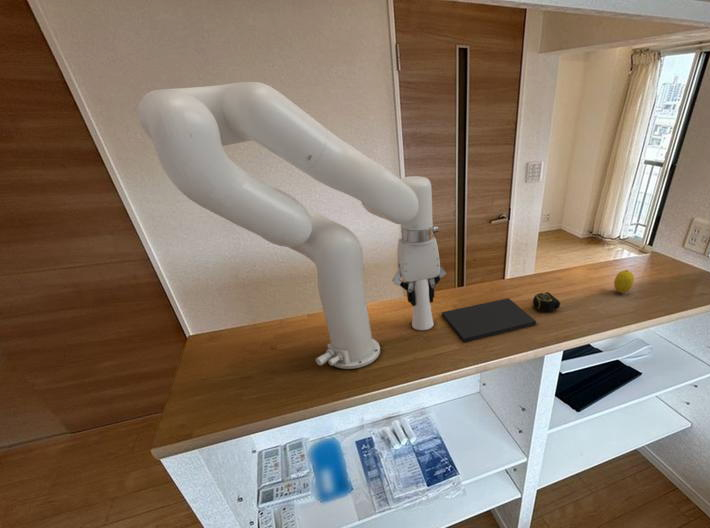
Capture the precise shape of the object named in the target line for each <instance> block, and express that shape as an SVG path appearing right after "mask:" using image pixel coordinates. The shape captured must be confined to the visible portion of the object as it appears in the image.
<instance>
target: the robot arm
mask: <svg viewBox="0 0 710 528" xmlns="http://www.w3.org/2000/svg"><path fill="white" fill-rule="evenodd" d="M137 116H138V121H139V123H140V125H141V128H142V129H143V131H144V133H145V134H146V135H147V136H148V137H149V138H150V140H151V141H152V143H153V147H154V150H155V153H156V156H157V159H158V161H159V163H160V165H161V167H162V169H163V171H164V172H165V174H166V176H167V177H168V178H169V180H170V181H171V182H172V184H173V185H174V186H175V187H176V188H177V189H178V190H179V191H180V192H181V193H182V194H183V195H184V196H185V197H186V198H187V199H189V200H190V201H192V202H193V203H195V204H197V205H198V206H200V207H202V209H203V208H204V209H205V210H207V211H209V212H211V213H213V214H215V215H217V216H219V217H221V218H223V219H225V220H227V221H229V222H231V223H232V224H234V225H237V226H239V227H240V228H243V229H244V230H247V231H249V232H251V233H252V234H255V235H257V236H259V238H262V239H263V240H265V241H266V242H269V243H271V244H273V245H276V246H280V247H285V248H289V249H290V250H293V251H295V252H297V253H299V254H301V255H303V256H304V257H306V258H307V259H309V260H310V261H311V262H313V263H314V264H315V267H316V270H317V289H318V295H319V299H320V303H321V306H322V310H323V315H324V319H325V323H326V328H327V333H328V336H329V337H328V338H329V342H330V343H327V345H326V346H327V350H325V353H324V354H323V353H322V354H321V355H320V356H318V357H316V358H315V363H316V364H317V365H318V366H323V365H324V364H326V363H328V364H329V366H333V367H334V368H338V369H342V370H343V369H344V370H354V369H359V368H363V367H365V366H368V365H370V364H372V363H373V362H375V361H376V360H377V359H378V357H379V356H380V354H381V346H380V343H379V342H378V341H377V340H376V339H374V338H373V337H372V335H373V334H372V329H371V323H370V316H369V311H368V303H367V298H366V291H365V285H364V277H363V276H364V275H363V274H364V273H363V265H364V264H363V261H364V255H363V254H364V252H363V247H362V244H361V242H360V240H359V238H358V236H357V235H356V234H355V233H354V232H353V231H351V229H349V228H348V227H346V226H344V225H342V224H341V223H338V222H337V221H334V220H331V219H330V218H328V217H326V216H324V215H323V214H320V213H319V212H317V211H315V210H313V209H312V208H310V207H308V206H306V205H305V204H303V203H301V202H300V201H299V200H298V199H297V198H295V197H294V196H292V195H291V194H289V193H287V192H285V191H283V190H281V189H279V188H277V187H274V186H271V185H269V184H268V183H267V182H264V181H263V180H261V179H259V178H257V177H255V176H254V175H253V174H251V172H248V171H247V170H245V169H243V168H242V167H240V166H238V165H237V164H236V163H234V161H232V160H231V159H230V158H229V156H228V155H227V153H226V151H225V150H224V146H230V145H235V144H240V143H245V142H255V143H257V144H258V145H260V146H262V147H263V148H264V149H266V150H268V151H270V152H271V153H273V154H274V155H276V156H278V157H279V158H281V159H282V160H284V161H285V162H287V163H289V164H290V165H292V166H293V167H295V168H297V169H298V170H300V171H301V172H303V173H304V174H306V175H308V176H309V177H310V178H312V179H313V180H315V181H317V182H319V183H321V184H322V185H325V186H326V187H329V188H330V189H333V190H335V191H337V192H340V193H343V194H344V195H345V194H346V195H348V196H350V197H352V198H354V199H356V200H358V201H360V203H361V205H362V207H363V208H364V209H365V210H366V212H367V213H370V214H371V215H373V216H376V217H378V218H380V219H383V220H386V221H389V222H390V223H393V224H396V225H400V233H401V234H400V237H401V238H399V239H398V241H397V247H396V249H397V250H396V251H397V252H396V259H397V260H396V262H397V263H396V266H397V270H396V272H395V274H394V276H393V277H392V279H391V280H392V283H393V284H394V285H397V286H399V287H401V288H402V289H404V290H405V291H406V298H407V299H406V300H407V302H408V303H410V305H411V306H412V307H413V306H415V305H416V304H415V292H414V291H413V284H414V281H418V280H422V279H428V284H429V296H430V304H433V303H434V298H435V288H436V286H437V285H438V283H439V282H440V281H441V279H443V278H444V277H445V276H446V275H447V271H446V270H445V269H444V268H443V266H442V265H441V261H440V253H439V247H438V241H437V239H436V237H435V233H438V232H439V226H438V225H436V226H435V225H434V222H433V193H432V183H431V181H430V179H429V178H428V177H426V176H420V175H410V176H404V177H402V178H399V177H398V176H396V175H395V174H394V173H393V172H391V171H390V170H389V169H388V168H386V167H384V166H383V165H382V164H380V163H378V162H377V161H376V160H373V158H371V157H369V156H367V155H365V154H364V153H362V152H361V151H359V150H358V149H357V148H355V147H354V146H352V145H351V144H350V143H347V142H346V141H344V140H343V139H342V138H340V137H339V136H337V134H334V133H333V132H332V131H330V130H329V129H328V128H327V127H325V126H324V125H323V124H322V123H320V122H318V121H317V120H316V119H315V118H314V117H312V116H311V115H309V114H308V112H306V111H304V110H303V108H300V107H299V106H298V105H297V104H295V103H294V102H293V101H292V100H291V99H289V98H288V97H286V96H285V95H283V94H282V93H281V92H280V91H278V90H277V89H276V88H274V87H272V86H270V85H268V84H266V83H263V82H259V81H240V82H234V83H233V82H231V83H226V84H224V83H223V84H216V85H208V86H207V85H205V86H194V87H179V88H163V89H154V90H152V91H149V92H147V93H146V94H144V96H143V97H142V98H141V99H140V100H139V103H138V107H137ZM401 279H402V280H401Z"/></svg>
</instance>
